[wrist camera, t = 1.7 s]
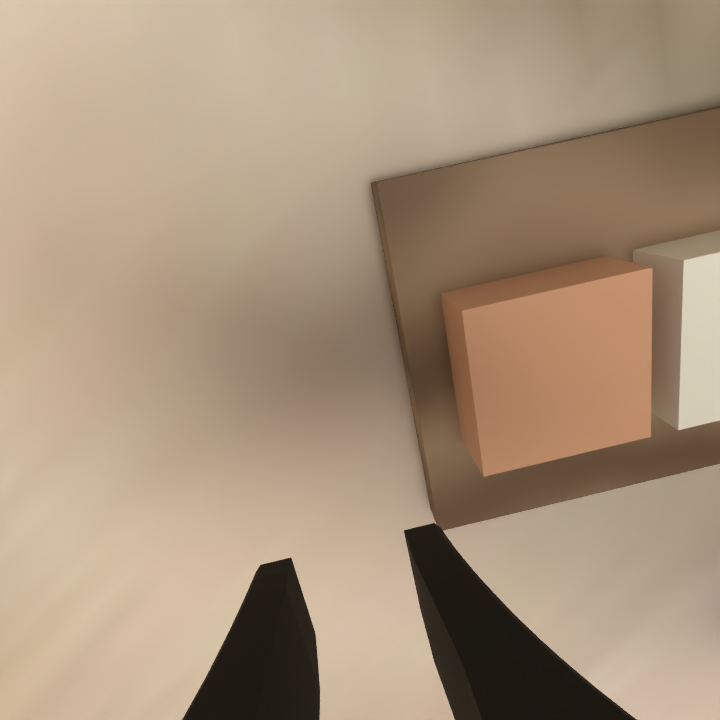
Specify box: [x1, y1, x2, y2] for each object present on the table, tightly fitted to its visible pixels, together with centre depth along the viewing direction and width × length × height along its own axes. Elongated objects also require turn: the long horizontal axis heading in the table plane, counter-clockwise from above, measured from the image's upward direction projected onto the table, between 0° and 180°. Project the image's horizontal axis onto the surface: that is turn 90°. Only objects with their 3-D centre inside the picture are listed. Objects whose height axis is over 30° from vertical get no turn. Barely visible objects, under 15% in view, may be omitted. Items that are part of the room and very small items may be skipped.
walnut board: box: [371, 107, 720, 530], centre depth 19 cm, size 14×16×2 cm
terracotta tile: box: [440, 256, 652, 477], centre depth 17 cm, size 6×6×2 cm
